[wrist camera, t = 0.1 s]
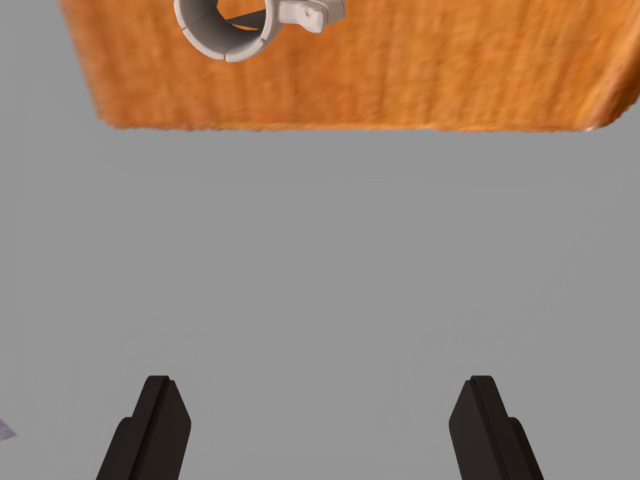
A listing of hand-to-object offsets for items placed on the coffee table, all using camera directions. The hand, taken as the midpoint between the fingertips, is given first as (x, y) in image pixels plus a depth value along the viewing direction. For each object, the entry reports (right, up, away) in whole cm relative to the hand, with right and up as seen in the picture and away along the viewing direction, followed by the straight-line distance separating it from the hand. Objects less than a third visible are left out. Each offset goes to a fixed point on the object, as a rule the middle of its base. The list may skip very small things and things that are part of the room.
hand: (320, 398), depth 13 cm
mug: (-4, +26, +20) cm, 33 cm away
